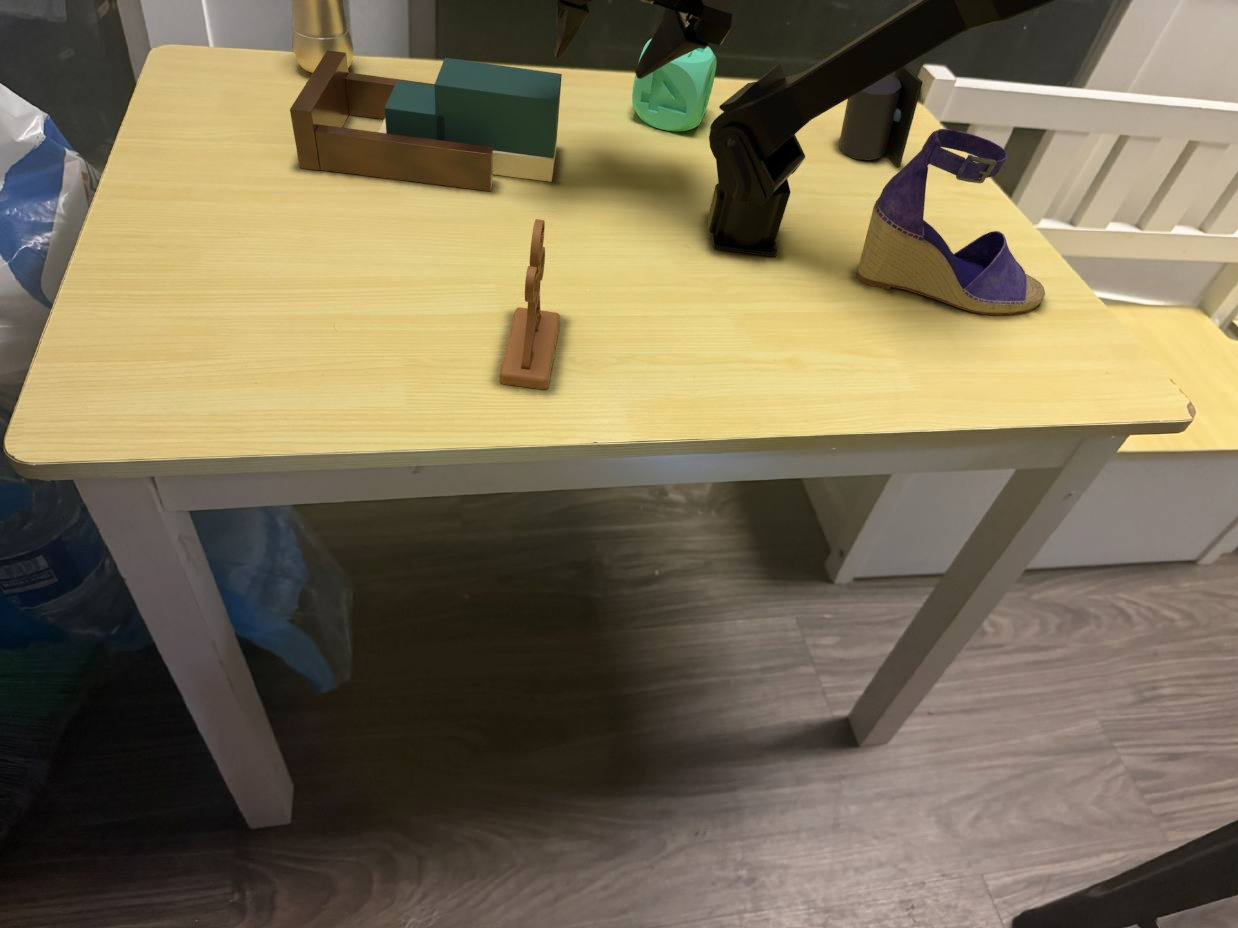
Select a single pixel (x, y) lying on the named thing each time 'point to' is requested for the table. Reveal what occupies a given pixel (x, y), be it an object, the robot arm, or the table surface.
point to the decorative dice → (676, 91)
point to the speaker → (881, 117)
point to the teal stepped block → (484, 113)
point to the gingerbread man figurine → (531, 328)
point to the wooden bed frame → (374, 134)
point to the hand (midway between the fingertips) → (598, 65)
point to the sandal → (920, 255)
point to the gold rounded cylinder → (319, 31)
